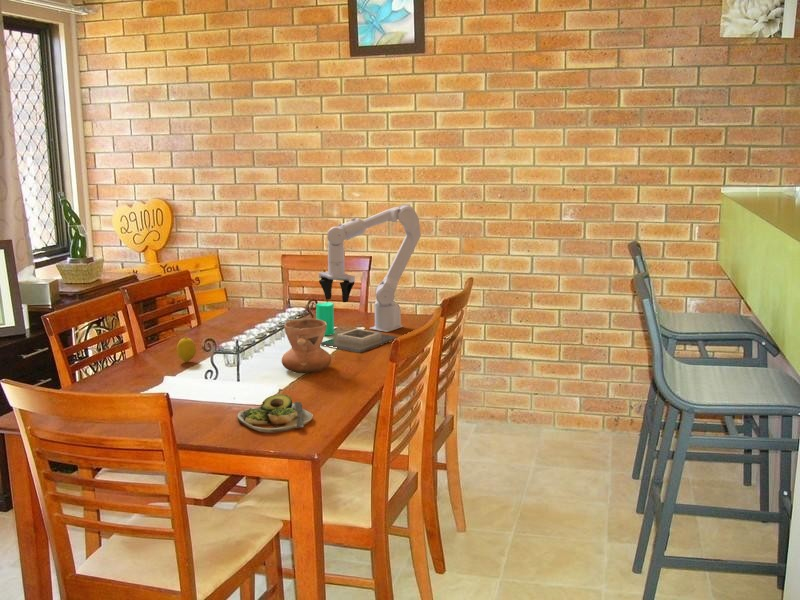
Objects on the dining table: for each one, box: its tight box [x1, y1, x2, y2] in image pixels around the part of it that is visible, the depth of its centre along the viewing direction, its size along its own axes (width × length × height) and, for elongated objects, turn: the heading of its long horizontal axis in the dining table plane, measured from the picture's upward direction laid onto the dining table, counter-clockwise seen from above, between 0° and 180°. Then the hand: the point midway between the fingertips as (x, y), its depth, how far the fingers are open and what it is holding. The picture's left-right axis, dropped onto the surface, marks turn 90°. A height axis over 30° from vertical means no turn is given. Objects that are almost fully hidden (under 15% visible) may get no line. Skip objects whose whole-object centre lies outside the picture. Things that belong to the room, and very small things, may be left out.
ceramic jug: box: [281, 317, 332, 374], centre depth 250 cm, size 18×14×14 cm
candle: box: [315, 298, 335, 336], centre depth 292 cm, size 6×6×12 cm
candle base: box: [320, 328, 398, 354], centre depth 281 cm, size 20×16×3 cm
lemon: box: [176, 336, 197, 363], centre depth 258 cm, size 6×6×8 cm
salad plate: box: [236, 393, 314, 434], centre depth 208 cm, size 19×18×5 cm
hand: (336, 300), depth 297 cm, fingers open, 7 cm apart
